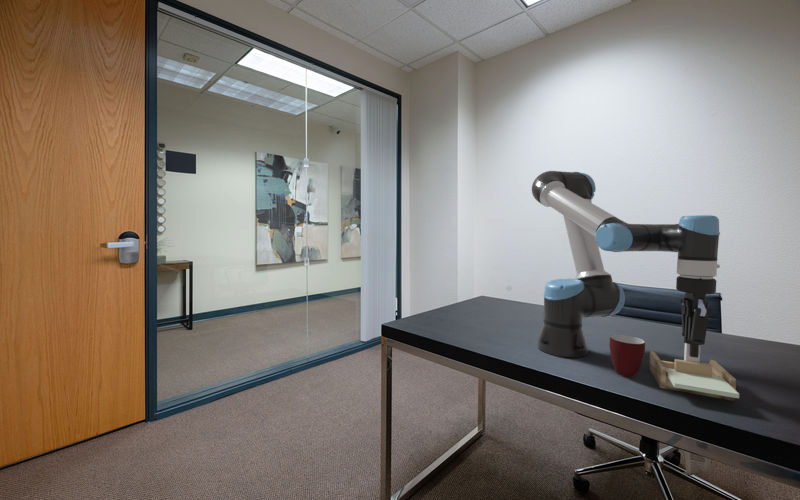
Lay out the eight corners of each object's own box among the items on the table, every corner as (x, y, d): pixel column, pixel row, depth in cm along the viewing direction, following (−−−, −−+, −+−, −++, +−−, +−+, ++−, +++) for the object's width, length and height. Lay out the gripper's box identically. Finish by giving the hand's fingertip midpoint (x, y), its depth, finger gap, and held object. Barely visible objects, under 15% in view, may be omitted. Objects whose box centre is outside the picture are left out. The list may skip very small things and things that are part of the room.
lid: (674, 387, 77) (675, 372, 77) (663, 371, 86) (664, 357, 86) (739, 398, 72) (740, 382, 72) (720, 380, 81) (721, 365, 81)
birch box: (660, 387, 84) (661, 367, 83) (649, 368, 95) (650, 351, 95) (734, 401, 77) (736, 379, 77) (713, 379, 89) (714, 360, 88)
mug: (600, 363, 99) (602, 331, 98) (631, 366, 97) (633, 333, 96) (614, 379, 88) (616, 342, 88) (649, 382, 86) (651, 345, 86)
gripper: (727, 281, 76) (721, 381, 77) (705, 274, 87) (701, 361, 88) (685, 278, 79) (680, 374, 80) (670, 273, 91) (666, 356, 92)
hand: (691, 367), depth 84 cm, fingers closed
